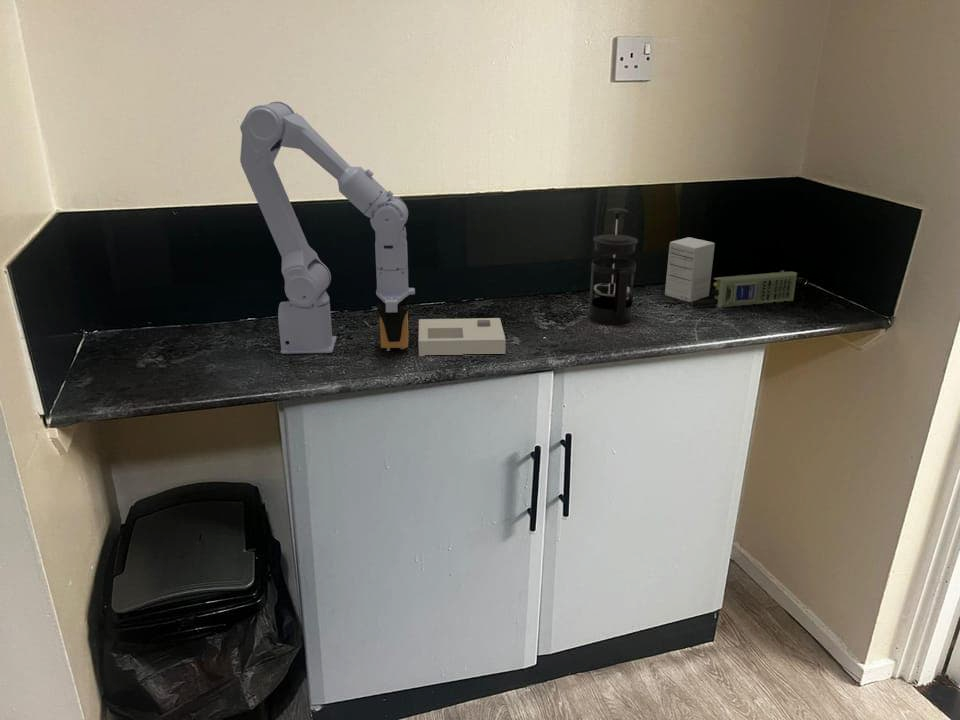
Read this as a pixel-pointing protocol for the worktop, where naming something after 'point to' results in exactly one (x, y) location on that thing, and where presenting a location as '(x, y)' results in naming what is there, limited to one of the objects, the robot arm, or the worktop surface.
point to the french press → (612, 295)
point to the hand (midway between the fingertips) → (394, 336)
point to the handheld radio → (752, 289)
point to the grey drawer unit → (689, 269)
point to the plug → (403, 339)
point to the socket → (461, 336)
